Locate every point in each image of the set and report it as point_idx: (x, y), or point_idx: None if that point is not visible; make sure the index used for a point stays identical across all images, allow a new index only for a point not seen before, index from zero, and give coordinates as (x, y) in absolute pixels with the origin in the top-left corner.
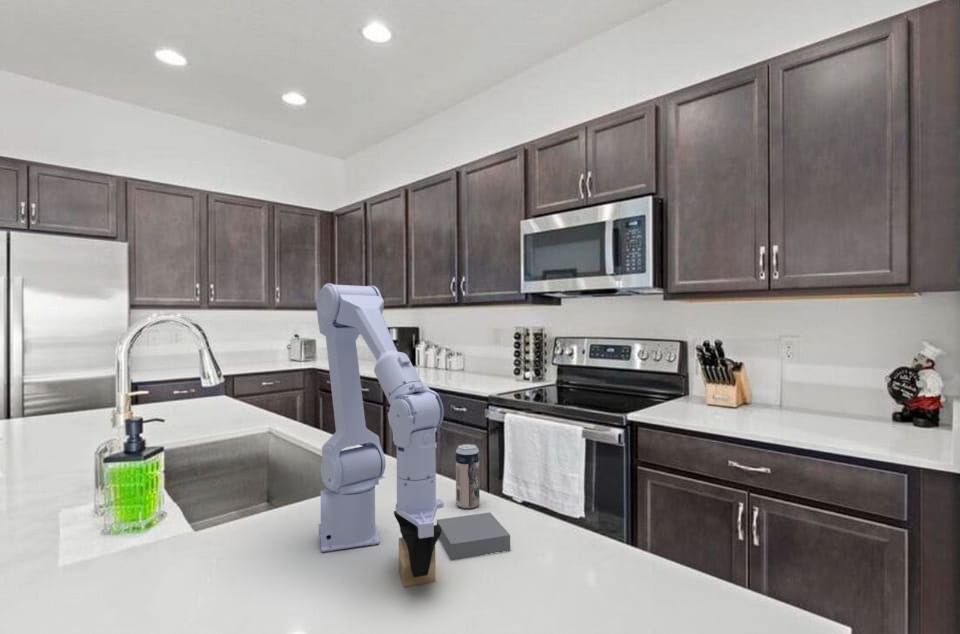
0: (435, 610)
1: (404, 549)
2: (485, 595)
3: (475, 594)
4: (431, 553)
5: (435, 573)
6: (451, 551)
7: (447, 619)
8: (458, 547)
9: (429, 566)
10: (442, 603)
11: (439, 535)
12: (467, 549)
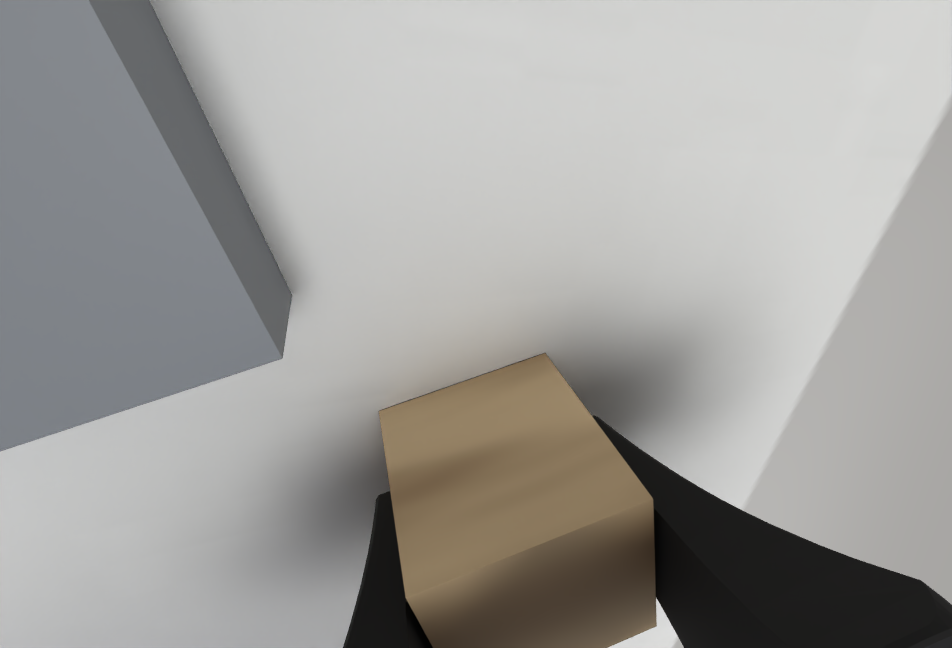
0: (762, 320)
1: (633, 632)
2: (749, 61)
3: (719, 128)
4: (706, 492)
5: (562, 377)
6: (284, 323)
7: (835, 267)
8: (257, 279)
9: (623, 437)
10: (729, 298)
11: (917, 581)
12: (216, 185)
